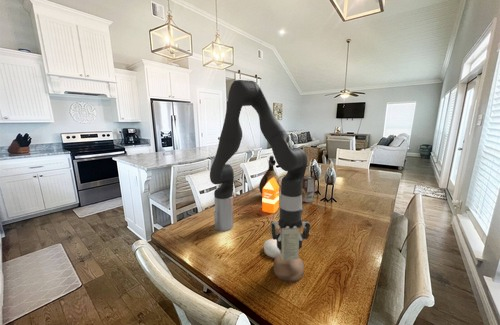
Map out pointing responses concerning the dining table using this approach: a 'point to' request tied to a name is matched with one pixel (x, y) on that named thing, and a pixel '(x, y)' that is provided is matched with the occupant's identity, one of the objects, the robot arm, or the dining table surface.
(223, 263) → the dining table surface
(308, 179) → the coffee box
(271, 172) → the ceramic jug
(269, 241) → the white rounded piece
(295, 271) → the pinkish brown pedestal
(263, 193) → the orange juice
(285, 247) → the skincare box
